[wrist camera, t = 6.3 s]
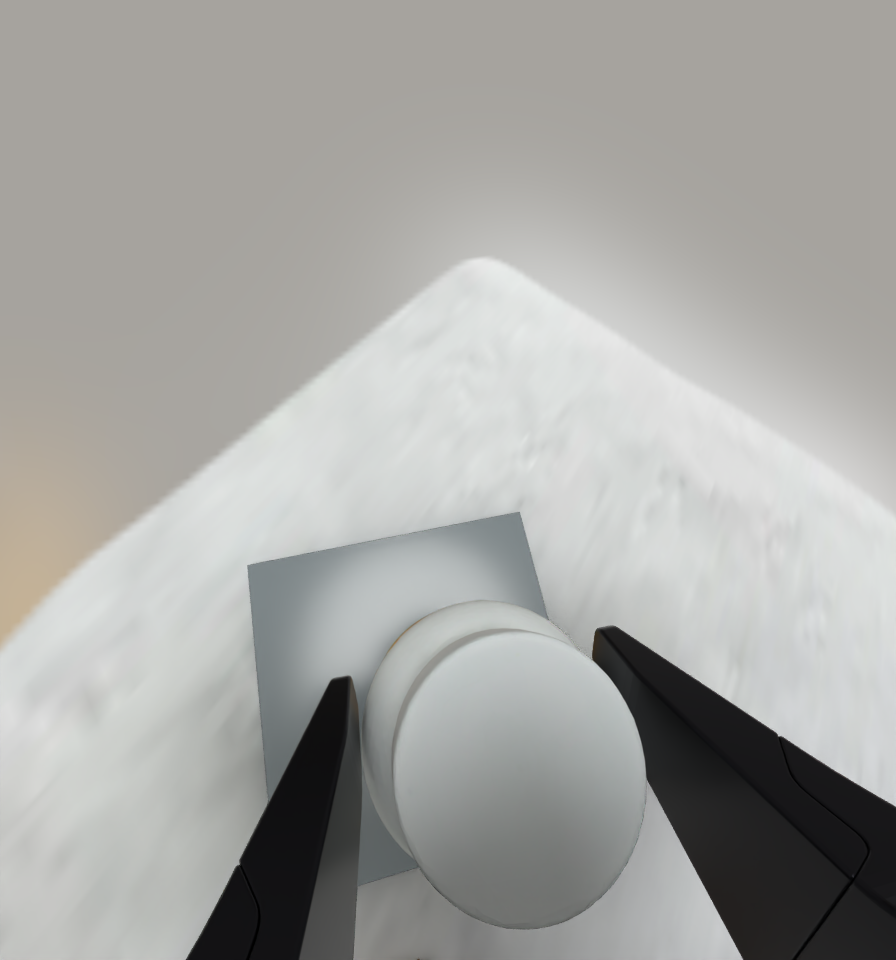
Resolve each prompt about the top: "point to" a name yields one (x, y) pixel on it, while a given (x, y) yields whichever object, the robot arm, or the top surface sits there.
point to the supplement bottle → (504, 764)
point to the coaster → (369, 630)
